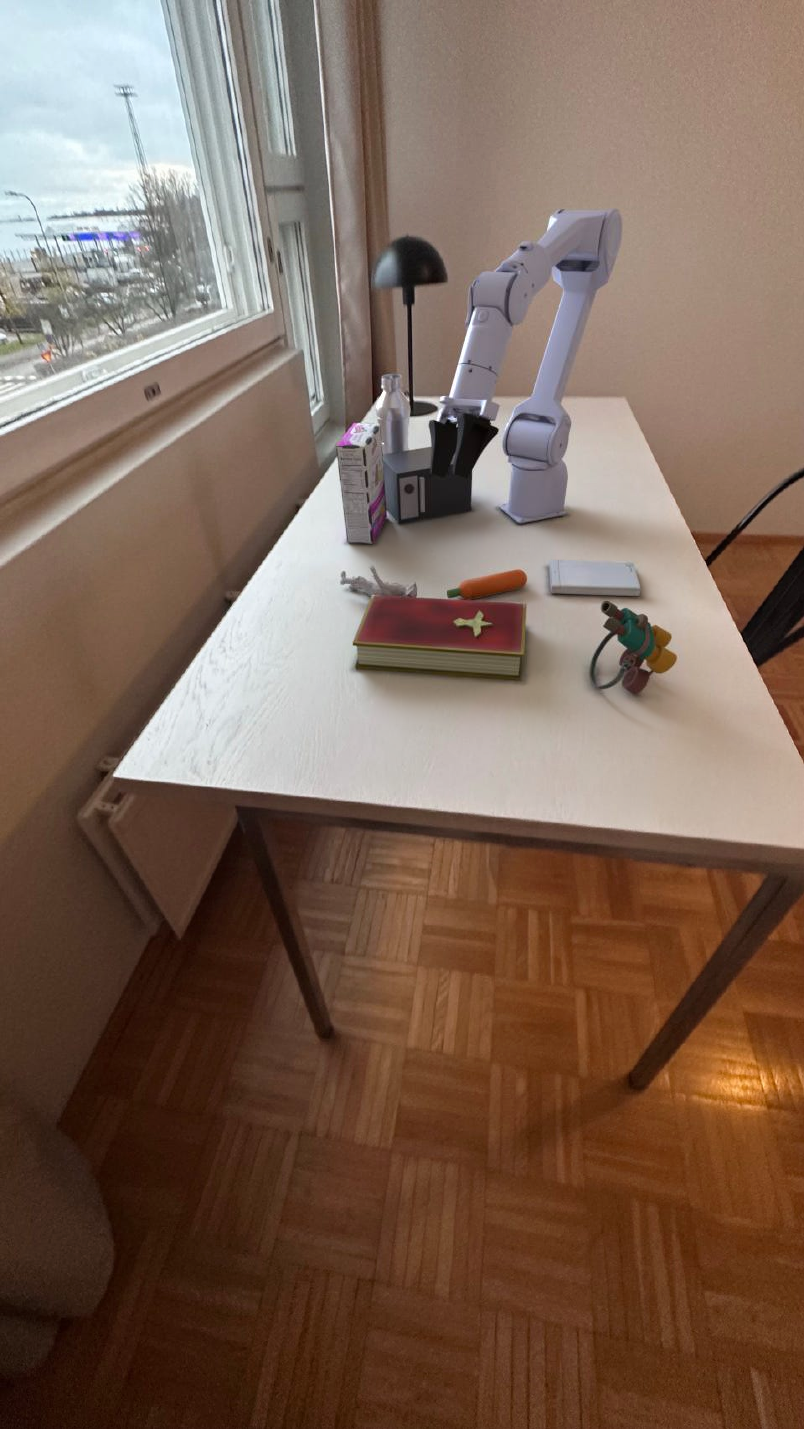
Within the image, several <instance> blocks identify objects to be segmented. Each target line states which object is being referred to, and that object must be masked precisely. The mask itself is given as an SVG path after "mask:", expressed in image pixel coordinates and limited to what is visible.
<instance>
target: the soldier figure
mask: <svg viewBox="0 0 804 1429" xmlns="http://www.w3.org/2000/svg"><path fill="white" fill-rule="evenodd" d="M368 568H369V569H370V571H371V573H372V577H373V579H374V580H375V582H376V583H375V582H374V581H372V580H368V579H366V578H365V577H364V576H362V575H357V576H352V577H346V576H347V572H346V571H344V570H342V571H341V573H340V578H341V580H340V582H339V583H340V585H341V586H344V585H349V586H348V587H349V588H348V589H349V590H354V589H355V590H363V591H364V592H365V594H366V595H367V596H369V597H370V598H371V596H372V595H382V596H400V597H418V587H417V583H416V581H415V580H414V581H413V582H412V583H411V584H410V585H409V584H408V585H407V587H406V586H404V585H402V584H400V583H399V582H391V583H389V582H388V581H386V582H384V581H383V580H382V579H381V578H380V576H379V574H378V572H377V570H376V568H375V566H374V564H371V565H369V566H368Z"/></svg>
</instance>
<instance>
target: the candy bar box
mask: <svg viewBox="0 0 804 1429" xmlns="http://www.w3.org/2000/svg"><path fill="white" fill-rule="evenodd" d="M335 450H336V451H335V452H336V459H337V467H338V468H337V469H338V476H339V484H340V492H341V499H342V500H341V502H342V508H343V518H344V526H345V535H346V536H345V537H346V542H347V543H348V544H358V545H359V544H362V545H365V544H366V545H373V544H374V543H375V541H376V539H377V538H378V535H379V533H380V531H381V529H382V527H383V526H384V524H385V521H386V520H387V518H388V514H387V513H388V510H387V509H386V496H385V483H384V468H383V454H382V439H381V424H380V423H378V422H376V423H375V422H363V423H362V422H353V423H352V425H351V426H350V427H349V429H348V430H347V431H346V433H345V434H344V435H343V436H342V437H341V439H340V440H339V441H338V443H337V444H336V445H335Z"/></svg>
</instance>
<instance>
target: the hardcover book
mask: <svg viewBox="0 0 804 1429" xmlns="http://www.w3.org/2000/svg"><path fill="white" fill-rule="evenodd" d="M527 604H528V603H526V602H525V603H523V602H508V601H507V602H506V601H505V602H504V601H489V600H488V601H487V600H473V599H470V600H465V599H455V598H454V599H453V598H435V597H434V598H433V597H418V596H417V597H400V596H382V595H372V596H371V597H370V599H369V601H368V604H367V606H366V609H365V611H364V613H363V616H362V619H361V621H360V623H359V626H358V629H357V631H356V633H355V636H354V638H353V641H352V646H354V647H356V652H357V660H356V662H355V665H354V668H355V669H357V670H359V669H360V670H373V671H385V672H386V671H387V672H400V673H412V674H413V673H414V674H426V675H427V674H428V675H441V676H454V677H466V678H482V679H492V680H493V679H495V680H506V681H507V680H508V681H520V682H521V681H522V678H523V677H522V676H523V658H525V645H526V644H525V643H526V623H527V622H526V621H527Z"/></svg>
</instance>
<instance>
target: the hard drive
mask: <svg viewBox="0 0 804 1429" xmlns="http://www.w3.org/2000/svg"><path fill="white" fill-rule="evenodd" d="M548 566H549V567H548V572H549V588H550V594H558V595H559V594H561V595H562V594H563V595H588V596H589V595H591V596H623V597H640V593H641V585H640V581H639V577H638V574H637V571H636V567H635V563H634V561H612V560H611V561H608V560H575V559H574V560H573V559H550V560H549V565H548Z"/></svg>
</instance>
